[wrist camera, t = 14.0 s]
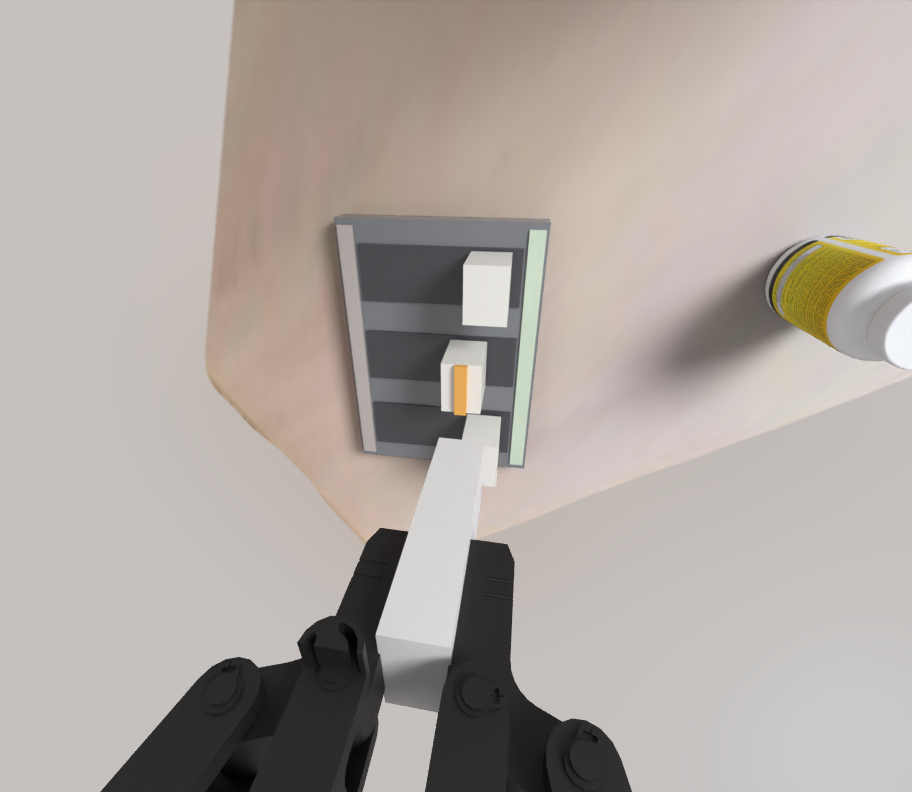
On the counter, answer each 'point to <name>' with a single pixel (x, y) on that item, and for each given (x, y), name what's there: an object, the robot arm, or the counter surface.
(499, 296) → the breaker near
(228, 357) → the counter surface
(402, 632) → the robot arm
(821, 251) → the pill bottle
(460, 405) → the breaker mid
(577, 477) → the counter surface
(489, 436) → the block
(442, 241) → the panel
